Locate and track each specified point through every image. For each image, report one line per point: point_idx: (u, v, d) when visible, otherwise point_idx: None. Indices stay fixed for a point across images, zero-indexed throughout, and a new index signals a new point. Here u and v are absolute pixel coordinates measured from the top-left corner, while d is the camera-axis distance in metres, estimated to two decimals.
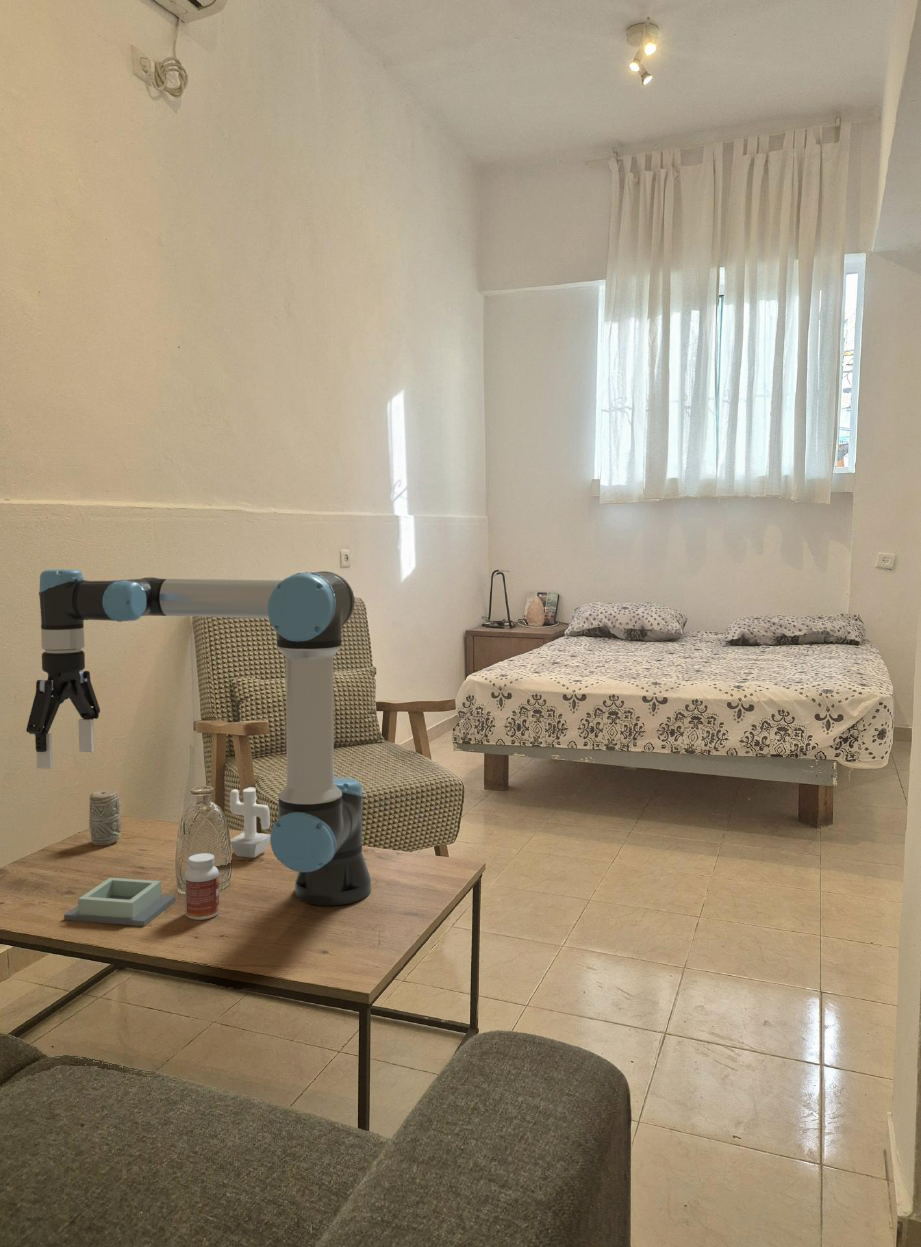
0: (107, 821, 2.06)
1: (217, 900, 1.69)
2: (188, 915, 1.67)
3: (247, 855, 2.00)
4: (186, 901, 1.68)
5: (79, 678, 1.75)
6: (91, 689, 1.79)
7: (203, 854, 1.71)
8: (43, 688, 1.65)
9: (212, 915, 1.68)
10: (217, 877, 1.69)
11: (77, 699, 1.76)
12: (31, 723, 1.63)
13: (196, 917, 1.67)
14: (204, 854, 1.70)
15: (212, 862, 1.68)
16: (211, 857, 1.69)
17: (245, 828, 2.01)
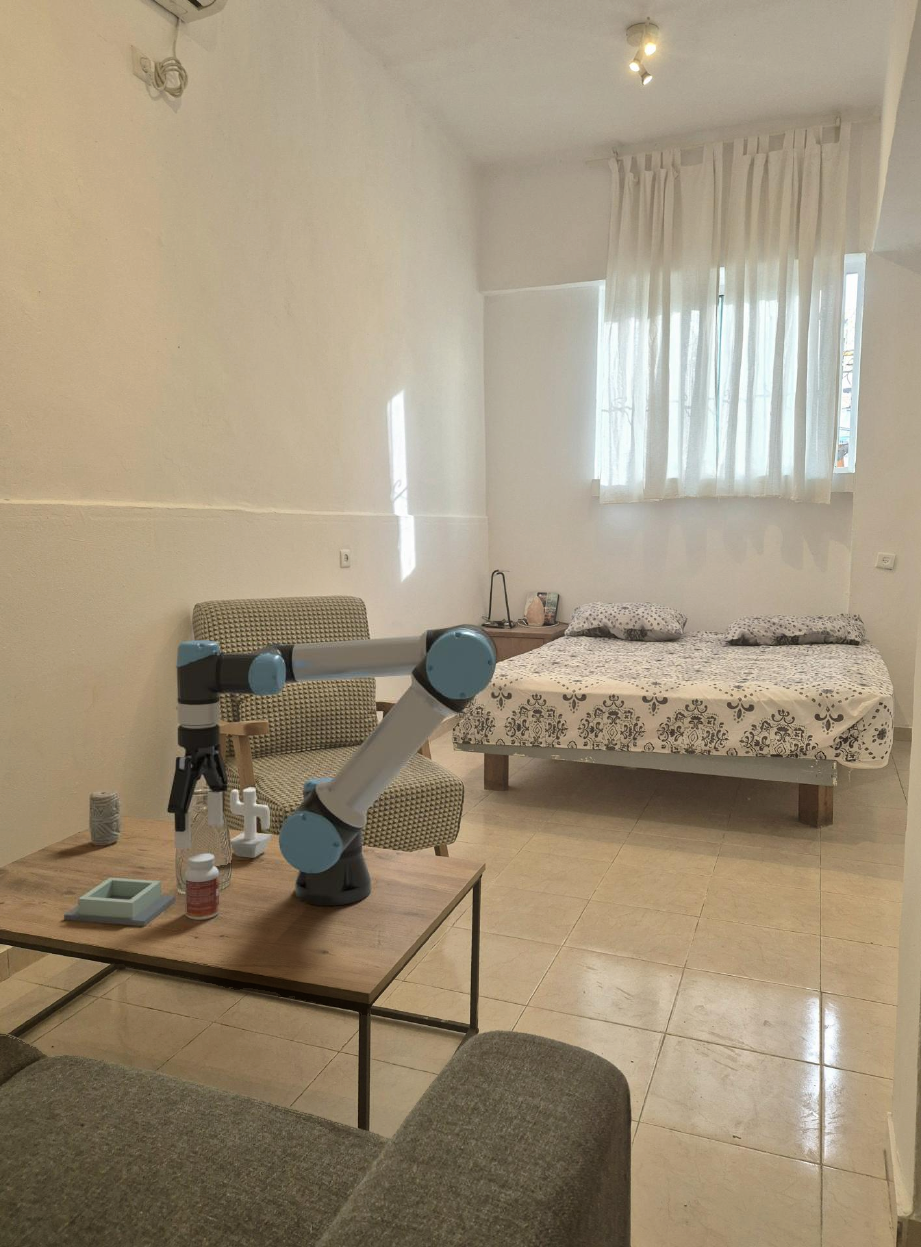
0: (107, 821, 2.06)
1: (217, 900, 1.69)
2: (188, 915, 1.67)
3: (247, 855, 2.00)
4: (186, 901, 1.68)
5: (212, 751, 1.70)
6: (221, 761, 1.74)
7: (203, 854, 1.71)
8: (183, 766, 1.60)
9: (212, 915, 1.68)
10: (217, 877, 1.69)
11: (209, 772, 1.71)
12: (172, 803, 1.58)
13: (196, 917, 1.67)
14: (204, 854, 1.70)
15: (212, 862, 1.68)
16: (211, 857, 1.69)
17: (245, 828, 2.01)
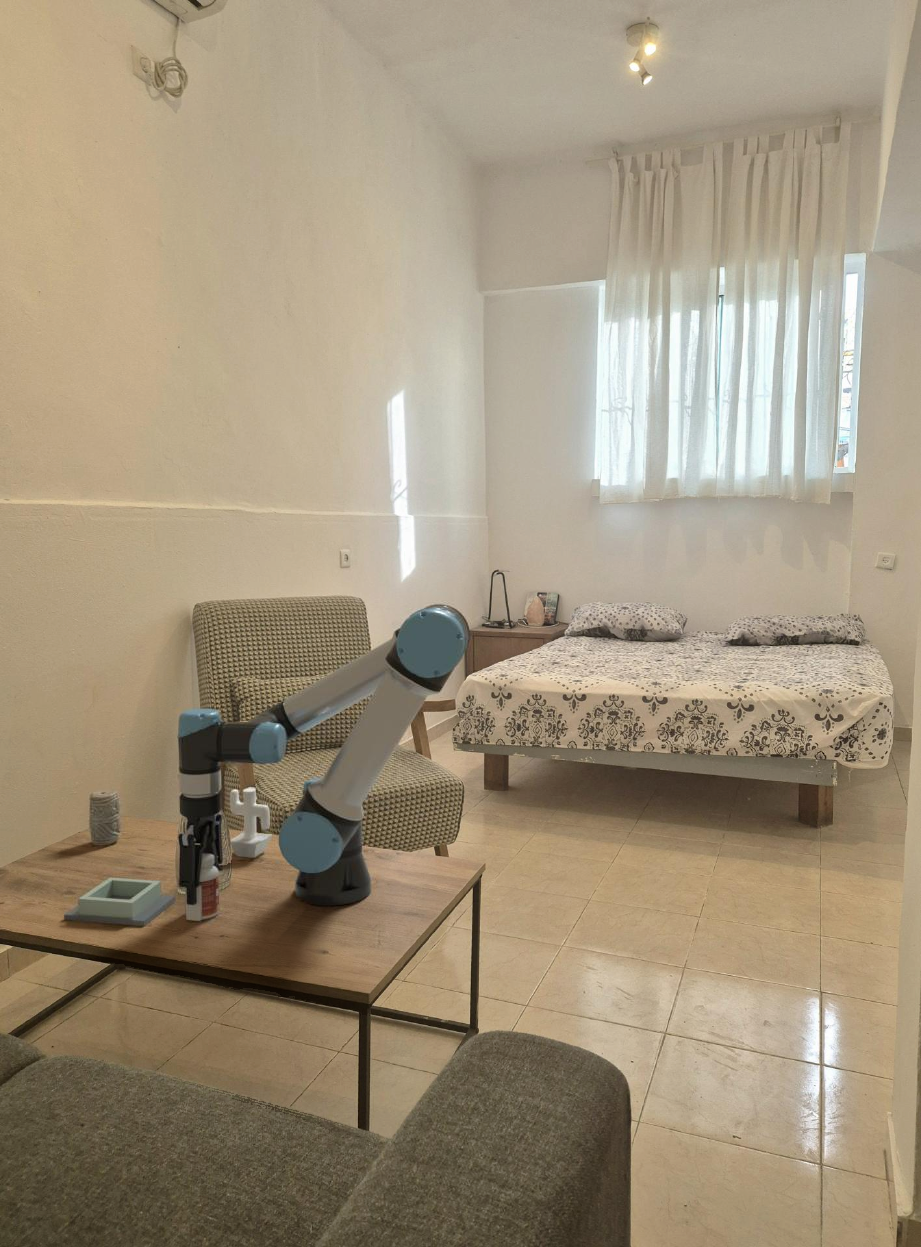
0: (107, 821, 2.06)
1: (217, 900, 1.69)
2: None
3: (247, 855, 2.00)
4: None
5: (214, 818, 1.71)
6: (220, 835, 1.74)
7: (203, 854, 1.70)
8: (186, 843, 1.62)
9: (212, 915, 1.68)
10: (217, 877, 1.69)
11: (208, 844, 1.70)
12: (183, 879, 1.62)
13: None
14: (204, 854, 1.70)
15: (212, 862, 1.68)
16: (211, 857, 1.69)
17: (245, 828, 2.01)
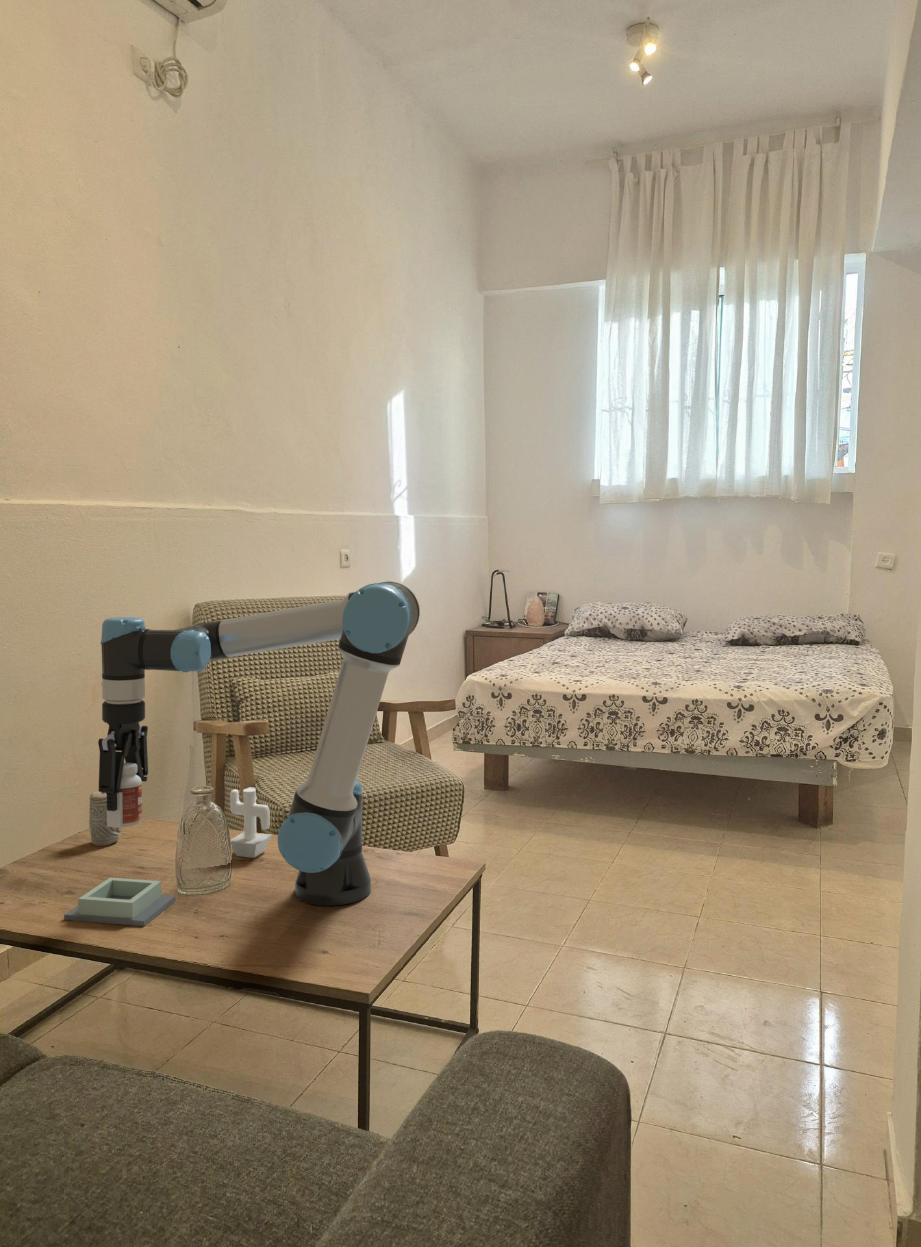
0: None
1: (139, 809, 1.69)
2: None
3: (247, 855, 2.00)
4: None
5: (138, 728, 1.71)
6: (145, 746, 1.74)
7: (127, 763, 1.70)
8: (106, 748, 1.62)
9: (133, 823, 1.68)
10: (139, 786, 1.69)
11: (131, 754, 1.70)
12: (102, 784, 1.62)
13: None
14: (127, 763, 1.70)
15: (134, 770, 1.68)
16: (134, 765, 1.69)
17: (245, 828, 2.01)
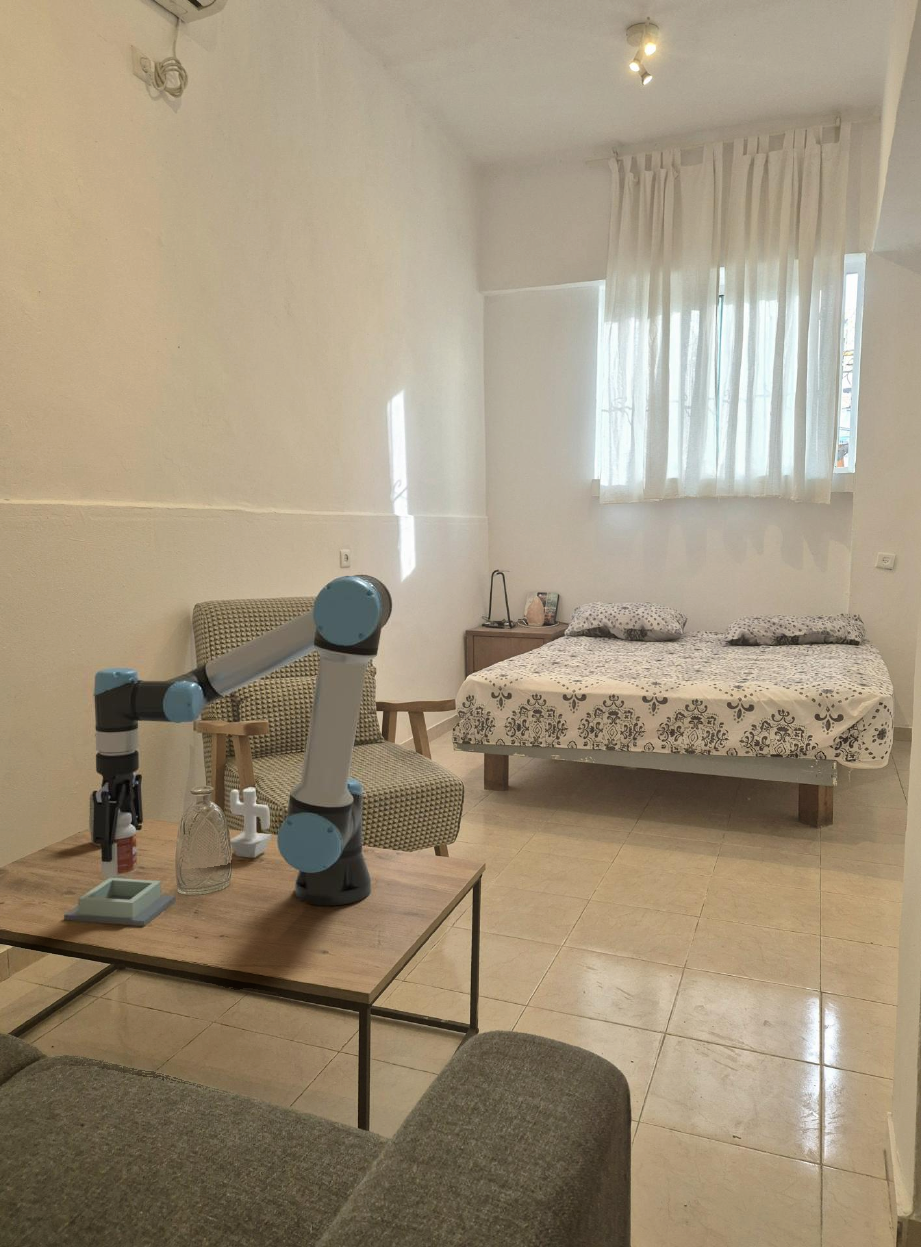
0: None
1: (134, 858, 1.70)
2: None
3: (247, 855, 2.00)
4: None
5: (132, 778, 1.72)
6: (139, 794, 1.75)
7: (121, 812, 1.71)
8: (100, 800, 1.63)
9: (128, 873, 1.69)
10: (134, 835, 1.70)
11: (126, 803, 1.71)
12: (96, 836, 1.63)
13: None
14: (122, 813, 1.71)
15: (129, 820, 1.69)
16: (128, 815, 1.69)
17: (245, 828, 2.01)
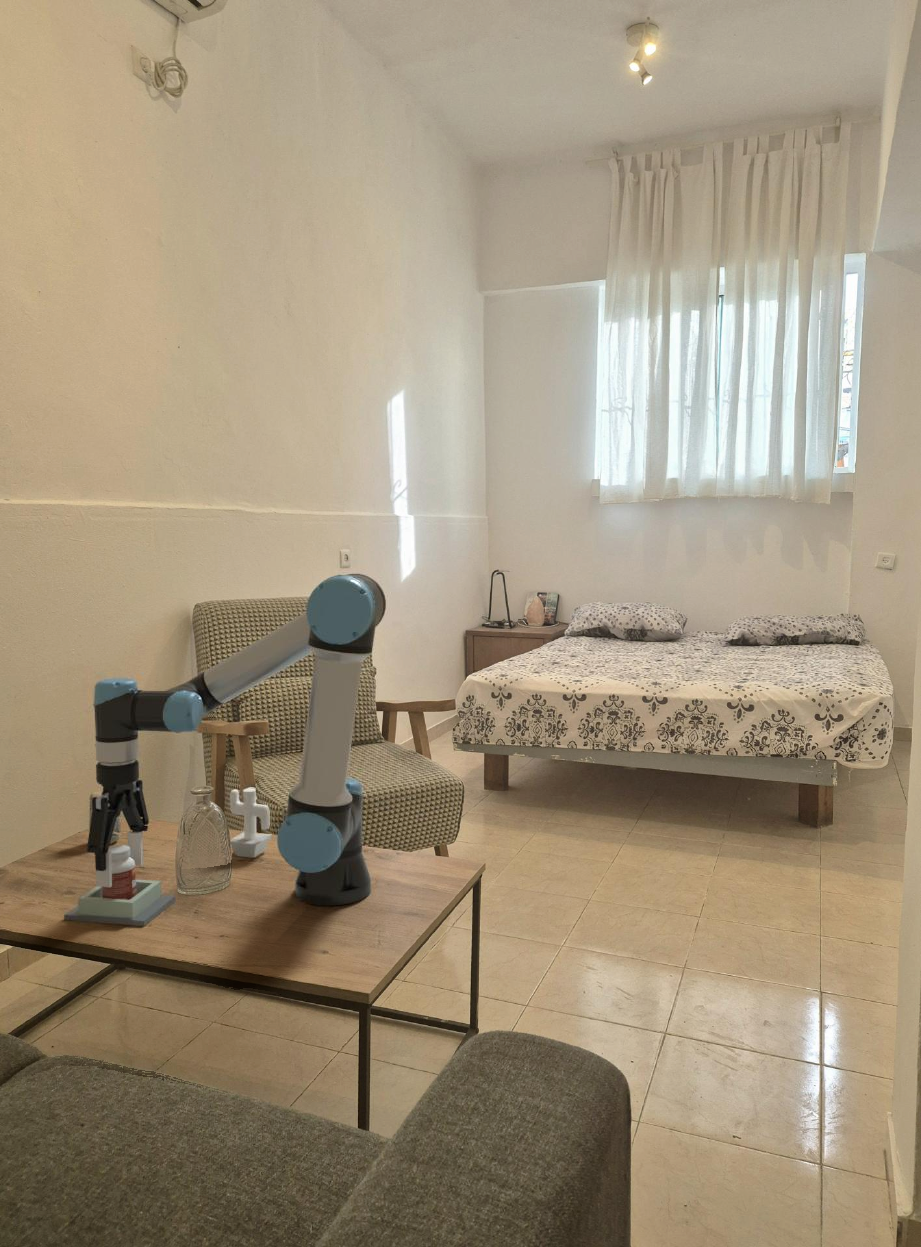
0: None
1: (134, 891, 1.70)
2: None
3: (247, 855, 2.00)
4: (102, 893, 1.69)
5: (132, 787, 1.72)
6: (142, 799, 1.76)
7: (120, 845, 1.71)
8: (99, 806, 1.62)
9: None
10: (133, 868, 1.70)
11: (129, 810, 1.72)
12: (91, 844, 1.61)
13: None
14: (120, 846, 1.71)
15: (127, 854, 1.69)
16: (126, 849, 1.69)
17: (245, 828, 2.01)
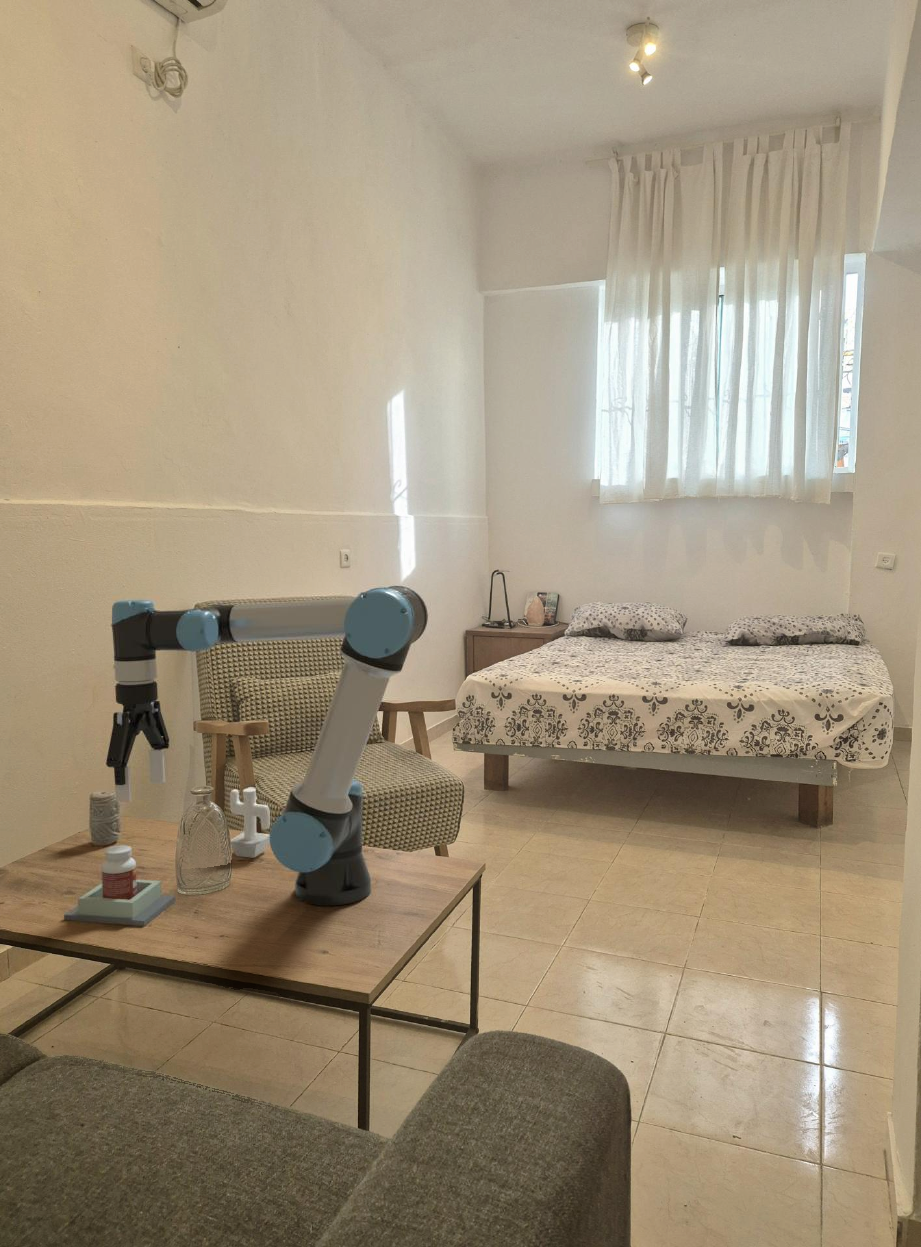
0: (107, 821, 2.06)
1: (134, 892, 1.70)
2: None
3: (247, 855, 2.00)
4: (102, 893, 1.69)
5: (151, 709, 1.74)
6: (161, 719, 1.78)
7: (121, 846, 1.72)
8: (120, 720, 1.64)
9: None
10: (134, 869, 1.70)
11: (149, 730, 1.74)
12: (111, 756, 1.62)
13: None
14: (122, 846, 1.71)
15: (129, 854, 1.69)
16: (128, 849, 1.70)
17: (245, 828, 2.01)
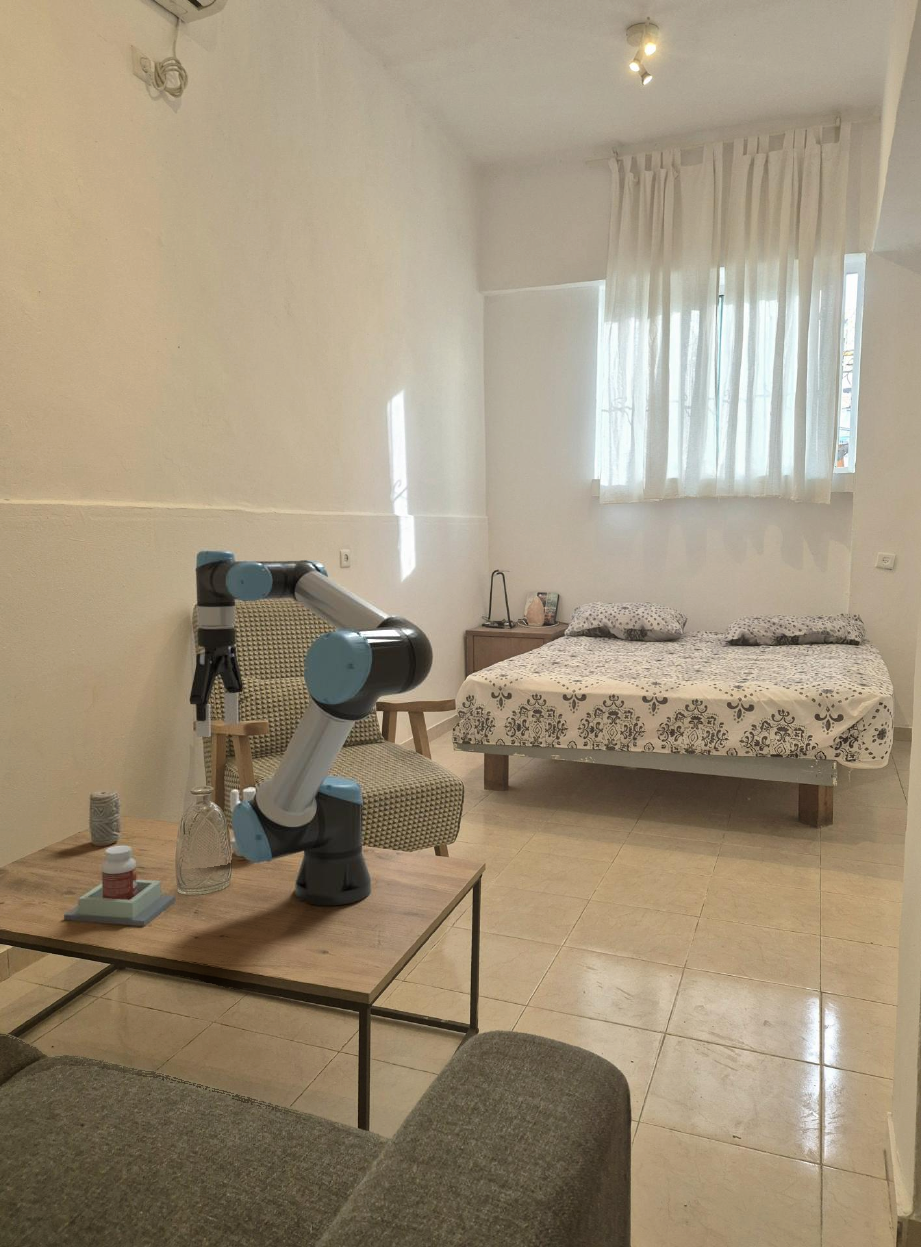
0: (107, 821, 2.06)
1: (134, 892, 1.70)
2: None
3: None
4: (103, 893, 1.69)
5: (228, 653, 1.86)
6: (236, 664, 1.90)
7: (121, 846, 1.71)
8: (203, 661, 1.76)
9: None
10: (134, 869, 1.70)
11: (226, 673, 1.87)
12: (194, 694, 1.74)
13: None
14: (122, 846, 1.71)
15: (129, 854, 1.69)
16: (128, 849, 1.70)
17: None
